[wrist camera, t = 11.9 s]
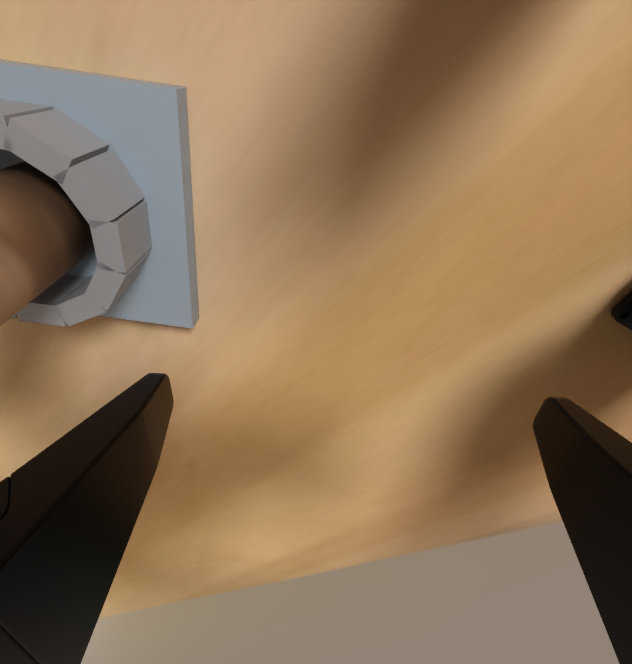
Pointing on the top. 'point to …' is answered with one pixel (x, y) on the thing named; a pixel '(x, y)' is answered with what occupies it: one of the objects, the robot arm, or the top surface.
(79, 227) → the walnut peg
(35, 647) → the robot arm
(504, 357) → the top surface
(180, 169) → the collar socket
